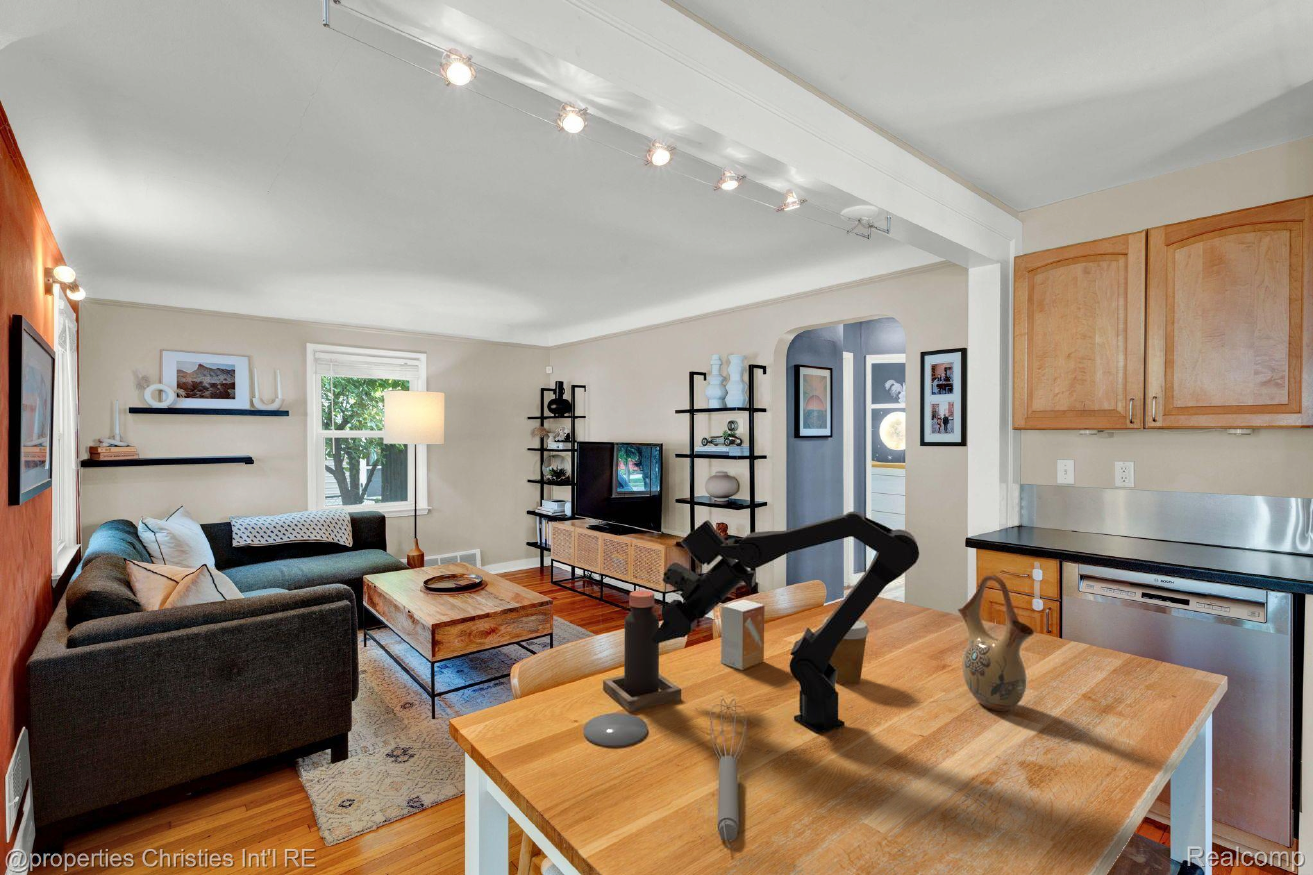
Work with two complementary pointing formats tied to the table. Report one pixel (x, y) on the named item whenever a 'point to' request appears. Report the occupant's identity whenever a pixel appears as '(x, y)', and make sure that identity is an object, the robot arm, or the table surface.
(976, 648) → the ceramic vessel
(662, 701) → the bottle caddy
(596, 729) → the slate coaster
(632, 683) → the vinegar
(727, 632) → the small box
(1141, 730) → the table surface
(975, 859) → the table surface
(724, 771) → the kitchen whisk
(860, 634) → the disposable coffee cup
